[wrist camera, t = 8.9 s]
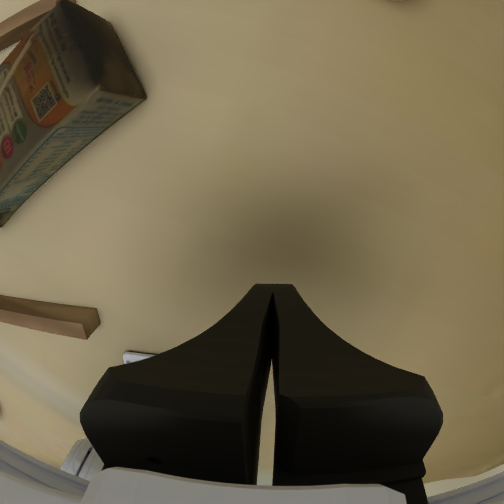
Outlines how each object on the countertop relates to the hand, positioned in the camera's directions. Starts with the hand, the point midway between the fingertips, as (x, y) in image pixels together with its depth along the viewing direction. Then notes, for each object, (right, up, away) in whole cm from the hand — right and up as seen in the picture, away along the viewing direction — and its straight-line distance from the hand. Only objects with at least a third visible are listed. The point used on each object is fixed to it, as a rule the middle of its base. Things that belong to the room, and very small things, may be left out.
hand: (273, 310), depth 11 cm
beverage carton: (-17, +11, +9) cm, 23 cm away
